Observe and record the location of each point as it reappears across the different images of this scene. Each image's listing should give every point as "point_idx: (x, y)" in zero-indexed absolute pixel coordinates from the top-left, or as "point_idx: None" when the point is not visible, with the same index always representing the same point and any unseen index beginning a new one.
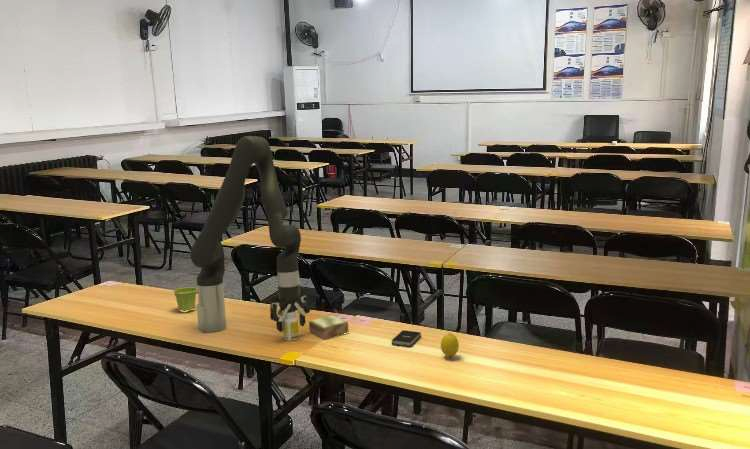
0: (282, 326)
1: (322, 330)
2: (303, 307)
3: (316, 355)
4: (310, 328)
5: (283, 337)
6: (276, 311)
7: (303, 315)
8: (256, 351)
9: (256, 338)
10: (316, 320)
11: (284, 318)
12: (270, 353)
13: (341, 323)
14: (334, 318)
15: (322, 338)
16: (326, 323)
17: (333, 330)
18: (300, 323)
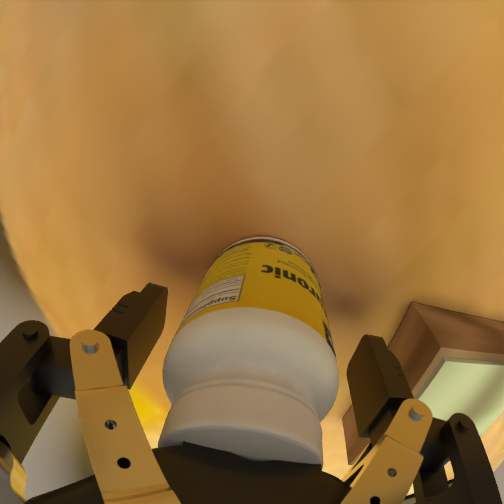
0: (146, 357)
1: (354, 446)
2: (456, 452)
3: None
4: (415, 332)
5: (210, 266)
6: (22, 454)
7: (369, 444)
8: (32, 268)
9: (110, 91)
10: (458, 379)
11: (177, 384)
12: (68, 335)
13: None
14: (496, 408)
15: (350, 410)
16: None
17: None
18: (363, 352)
